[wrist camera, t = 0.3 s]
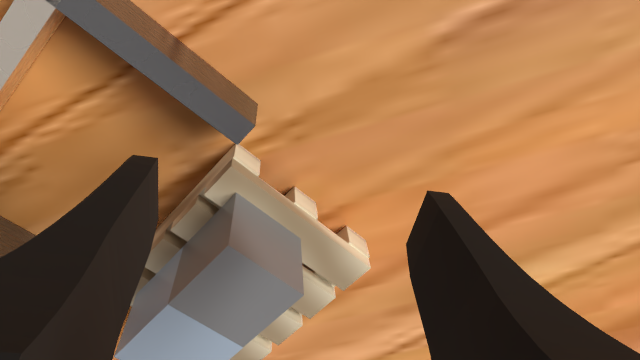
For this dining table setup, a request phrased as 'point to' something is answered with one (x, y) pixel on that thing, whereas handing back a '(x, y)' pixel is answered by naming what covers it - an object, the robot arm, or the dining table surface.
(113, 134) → the dining table surface
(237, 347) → the blue crate
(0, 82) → the dock
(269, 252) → the grey cubic piece
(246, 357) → the pallet
